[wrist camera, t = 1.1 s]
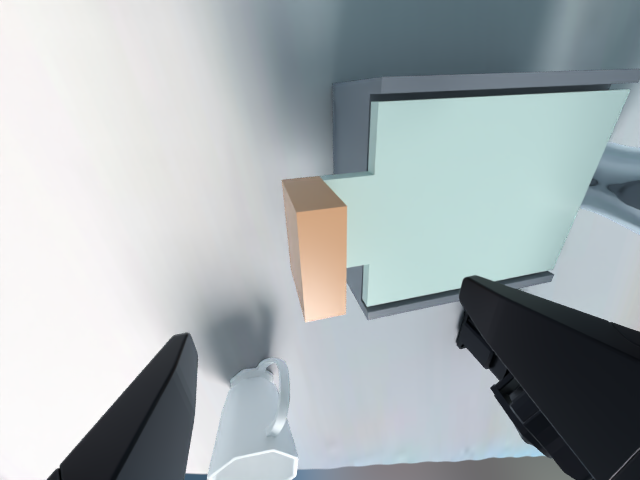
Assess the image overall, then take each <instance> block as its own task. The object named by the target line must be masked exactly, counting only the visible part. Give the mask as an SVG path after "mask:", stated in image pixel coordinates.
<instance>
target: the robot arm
mask: <svg viewBox="0 0 640 480" xmlns="http://www.w3.org/2000/svg"><path fill="white" fill-rule="evenodd" d="M459 300H460V302H461V304H462V306H463V307H464V309H465V310H466V312H465V316H464V319H463V323H462V327H461V330H460V334H459V337H458V341H457V346H458V347H459V349H463V348H467V349H468V350H469V351H470V352H471V353H472V354H473V356H474V357H475V358H476V359H477V360H478V361H479V362H480V364H481V365H482V366H483V367H484V368H485V369H490V371H491V372H492V373H493V374H494V375H495V376H496V377H497V378H498V380H499V382H498V383H497V384H496V385H495V384H494V385H493V386H492V387H490V389H491V390H492V391H493V393H494V394H495V395H494V396H495V398H496V399H497V401H498V402H499V403H500V405H501V406H502V408H503V409H504V411H505V412H506V413H507V415H508V416H509V418H510V419H511V421H512V422H513V423H514V425H515V427H516V429H517V431H518V432H519V434H520V436H521V438H522V439H523V440H524V441H525V442H526V443H527V444H530V445H533V446H535V447H536V448H537V449H538V450H539V451H540V452H542V453H543V454H544V455H545V456H547V457H549V458H553V459H554V460H555V462H556V463H557V464H558V465H559V467H560V468H561V469H562V470H563V471H564V473H566V474H567V475H569V476H571V477H572V478H574V479H575V480H640V332H639V331H636V330H633V329H630V328H627V327H624V326H621V325H618V324H616V323H613V322H608V321H607V320H604V319H601V318H598V317H595V316H592V315H589V314H587V313H584V312H581V311H578V310H575V309H572V308H569V307H567V306H564V305H561V304H558V303H555V302H552V301H549V300H546V299H544V298H541V297H538V296H535V295H532V294H529V293H526V292H523V291H521V290H518V289H515V288H512V287H509V286H506V285H503V284H500V283H498V282H495V281H492V280H489V279H486V278H483V277H480V276H477V275H473V276H467V277H465V278H464V279H463V281H462V284H461V288H460V293H459ZM197 367H198V354H197V350H196V348H195V345H194V342H193V340H192V337H191V335H190V334H189V333H182V334H177V335H174V336H173V337H171V339H170V340H169V341H168V342H167V343H166V344H165V345H164V347H163V348H162V349H161V350H160V351H159V352H158V353H157V355H156V356H155V357H154V358H153V359H152V360H151V361H150V363H149V364H148V365H147V366H146V367H145V368H144V369H143V370H142V372H141V373H140V374H139V375H138V376H137V377H136V378H135V380H134V381H133V382H132V383H131V384H130V385H129V386H128V388H127V389H126V390H125V391H124V392H123V393H122V394H121V396H120V397H119V398H118V399H117V400H116V401H115V402H114V404H113V405H112V406H111V407H110V408H109V409H108V410H107V412H106V413H105V414H104V415H103V416H102V417H101V418H100V420H99V421H98V422H97V423H96V424H95V425H94V426H93V428H92V429H91V430H90V431H89V432H88V433H87V434H86V435H85V437H84V438H83V439H82V440H81V441H80V442H79V443H78V445H77V446H76V447H75V448H74V449H73V450H72V451H71V453H70V454H69V455H68V456H67V457H66V458H65V459H64V461H63V462H62V463H61V464H60V468H57V469H56V470H55V471H54V472H53V473H52V474H51V475H50V476H49V477H48V479H47V480H184V478H185V472H186V466H187V460H188V454H189V448H190V442H191V436H192V430H193V424H194V416H195V405H196V387H197Z"/></svg>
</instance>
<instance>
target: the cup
mask: <svg viewBox="0 0 640 480" xmlns="http://www.w3.org/2000/svg"><path fill="white" fill-rule="evenodd" d="M273 363H276V365H277V368H278V371H279V392H278V390H277V388H276V385H275V384H274V383H273V373H271V372H269V371H267V370H265V369H266V367H267V366H269V365H270V364H273ZM230 385H231V389H230V390H229V392H228V395H227V398H226V401H225V404H224V407H223V410H222V413H221V418H220V422H219V427H218V432H217V436H216V441H215V445H214V449H213V453H212V458H211V462H210V467H209V471H208V476H207V480H292V479H293V478H294V477H296V474H297V465H298V455H297V451H296V447H295V444H294V440H293V437H292V434H291V431H290V427H289V424H288V420H287V414H288V407H289V401H290V381H289V372H288V367H287V365H286V362H285V361H284V360H282V359H279V358H267V359H264V360H263V361H261V362H260V363H259V365H258V366H257V368H249V369H243V370H242V371H240V372H239V373H238V374H237V375H235V376H234V377H233V378H232V379H231V380H230Z"/></svg>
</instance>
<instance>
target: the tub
mask: <svg viewBox="0 0 640 480" xmlns="http://www.w3.org/2000/svg"><path fill="white" fill-rule="evenodd" d="M639 80H640V69H616V70H584V71H552V72H520V73H488V74H456V75H424V76H392V77H377V78H370V79H363V80H355V81H348V82H341V83H334V84H333V156H334V175H335V174H345V173H355V172H365V171H368V160H369V137H370V115H371V102H373V101H393V100H413V99H434V98H454V97H474V96H494V95H515V94H535V93H555V92H575V91H596V90H609V88H610V85H611V84H616V83H638V82H639ZM363 270H364V265H361V266H355V267H349V268H347V269H346V282H347V283H348V285H349V287H350V289H351V291H352V293H353V294H354V296H355V298H356V300H357V302H358V303H359V305H360V307H361V309H362V311H363V313H364V314H365V316H366V318H367V320H371V319H375V318H380V317H385V316H390V315H394V314H399V313H404V312H409V311H413V310H418V309H423V308H428V307H432V306H437V305H442V304H447V303H451V302H456V301H460V300H459V293H460V288H459V289H454V290H449V291H444V292H439V293H434V294H429V295H424V296H419V297H414V298H409V299H404V300H399V301H394V302H389V303H384V304H379V305H374V306H369V307H367V306H366V304H365V302H364V301H363V299H362V293H363ZM553 276H554V274H552V273H550V272H549V271H543V272H538V273H533V274H528V275H523V276H518V277H513V278H508V279H503V280H498V281H495V282H498V283H500V284H503V285H506V286H509V287H512V288H515V289H518V288H523V287H528V286H532V285H537V284H542V283H547V282H551V281H552V278H553Z"/></svg>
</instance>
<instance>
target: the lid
mask: <svg viewBox="0 0 640 480" xmlns="http://www.w3.org/2000/svg"><path fill="white" fill-rule="evenodd" d="M630 90H631V89H622V90H596V91H575V92H555V93H535V94H515V95H494V96H474V97H454V98H434V99H413V100H393V101H373V102H371V115H370V137H369V160H368V171H365V172H355V173H345V174H335V175H325V176H315V177H305V178H295V179H285V180H282V187H283V197H284V206H285V216H286V226H287V235H288V245H289V255H290V265H291V271H292V275H293V278H294V282H295V286H296V290H297V293H298V297H299V301H300V304H301V308H302V312H303V316H304V319H305V323H306V322H310V321H315V320H320V319H325V318H330V317H335V316H340V315H345V314H346V269H347V268H349V267H355V266H361V265H364V270H363V293H362V299H363V301H364V302H365V304H366V306H367V307H369V306H374V305H379V304H384V303H389V302H394V301H399V300H404V299H409V298H414V297H419V296H424V295H429V294H434V293H439V292H444V291H449V290H454V289H459V288H461V284H462V281H463V279H464V278H465V277H467V276H473V275H477V276H480V277H483V278H486V279H489V280H492V281H498V280H503V279H508V278H513V277H518V276H523V275H528V274H533V273H538V272H543V271H548V270H553V268H554V266H555V264H556V261H557V259H558V257H559V254H560V252H561V250H562V247H563V245H564V243H565V240H566V238H567V236H568V233H569V231H570V229H571V226H572V224H573V222H574V219H575V217H576V215H577V213H578V210H579V208H580V206H581V203H582V201H583V199H584V196H585V194H586V192H587V189H588V187H589V185H590V182H591V180H592V178H593V175H594V173H595V171H596V169H597V166H598V164H599V162H600V159H601V157H602V155H603V152H604V150H605V148H606V145H607V143H608V141H609V138H610V136H611V134H612V131H613V129H614V127H615V124H616V122H617V120H618V118H619V115H620V113H621V111H622V108H623V106H624V104H625V101H626V99H627V97H628V94H629V92H630Z"/></svg>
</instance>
